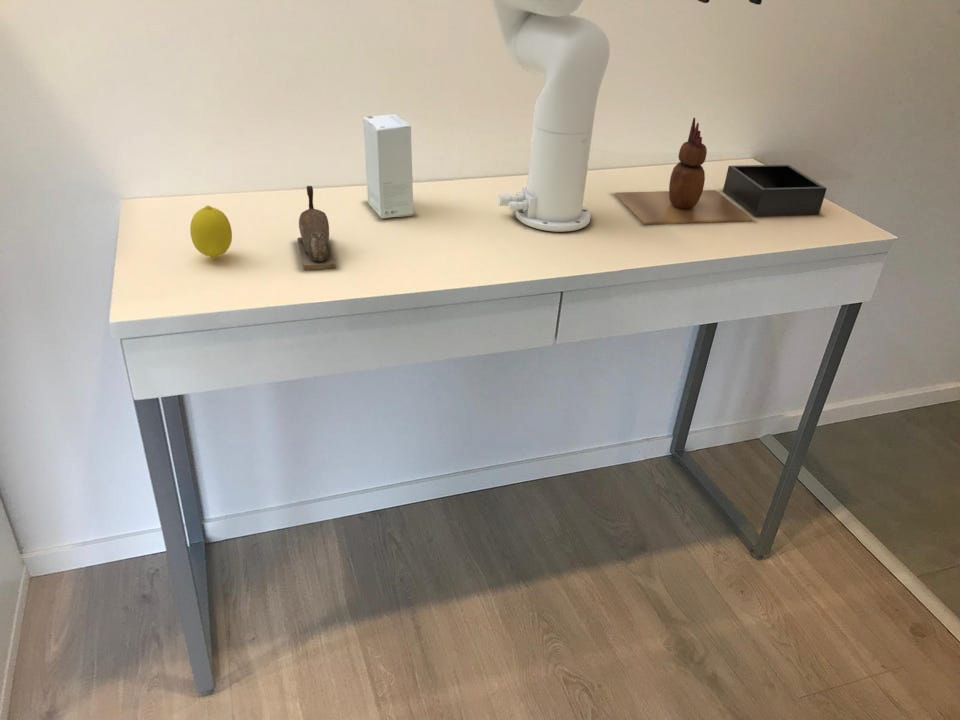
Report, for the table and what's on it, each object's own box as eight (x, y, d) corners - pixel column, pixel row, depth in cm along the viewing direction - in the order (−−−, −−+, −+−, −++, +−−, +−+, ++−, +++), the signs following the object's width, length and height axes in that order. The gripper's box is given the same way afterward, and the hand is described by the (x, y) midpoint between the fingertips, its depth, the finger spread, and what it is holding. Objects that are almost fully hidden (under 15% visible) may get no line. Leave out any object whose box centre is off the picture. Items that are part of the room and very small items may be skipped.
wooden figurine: (664, 196, 145) (680, 113, 137) (696, 200, 144) (714, 117, 136) (667, 210, 139) (683, 124, 131) (700, 213, 139) (719, 127, 131)
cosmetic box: (414, 216, 132) (414, 126, 124) (378, 220, 129) (377, 129, 122) (398, 198, 138) (398, 112, 130) (364, 201, 136) (362, 114, 128)
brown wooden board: (644, 224, 134) (644, 222, 134) (615, 194, 146) (615, 192, 145) (751, 221, 138) (752, 218, 138) (715, 192, 150) (715, 190, 150)
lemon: (197, 269, 111) (189, 215, 107) (192, 253, 115) (184, 200, 111) (237, 264, 113) (231, 211, 109) (231, 248, 117) (225, 197, 113)
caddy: (755, 216, 140) (762, 189, 137) (722, 191, 150) (728, 165, 148) (818, 214, 143) (827, 188, 140) (782, 189, 153) (789, 164, 150)
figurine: (295, 231, 124) (291, 177, 119) (324, 229, 125) (321, 176, 120) (303, 270, 113) (299, 213, 108) (335, 268, 114) (333, 211, 109)
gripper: (789, -113, 131) (763, 0, 140) (692, -119, 127) (672, -3, 137) (814, -111, 125) (786, 7, 134) (713, -117, 121) (691, 5, 130)
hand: (728, 2), depth 135 cm, fingers open, 9 cm apart
